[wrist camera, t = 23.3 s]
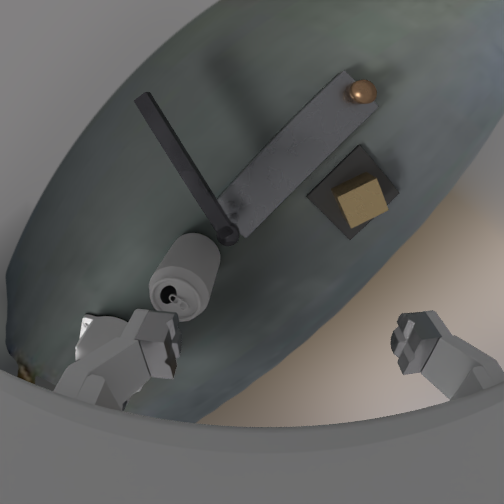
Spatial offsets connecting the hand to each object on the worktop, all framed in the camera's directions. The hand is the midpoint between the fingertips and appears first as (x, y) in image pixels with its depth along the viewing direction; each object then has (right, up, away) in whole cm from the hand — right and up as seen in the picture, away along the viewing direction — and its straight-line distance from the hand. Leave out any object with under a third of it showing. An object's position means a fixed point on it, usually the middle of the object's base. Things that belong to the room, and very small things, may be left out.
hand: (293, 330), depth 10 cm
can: (-10, +3, +32) cm, 34 cm away
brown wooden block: (+12, +10, +26) cm, 31 cm away
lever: (-8, +12, +19) cm, 24 cm away
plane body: (+4, +15, +25) cm, 30 cm away
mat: (+12, +11, +27) cm, 31 cm away
